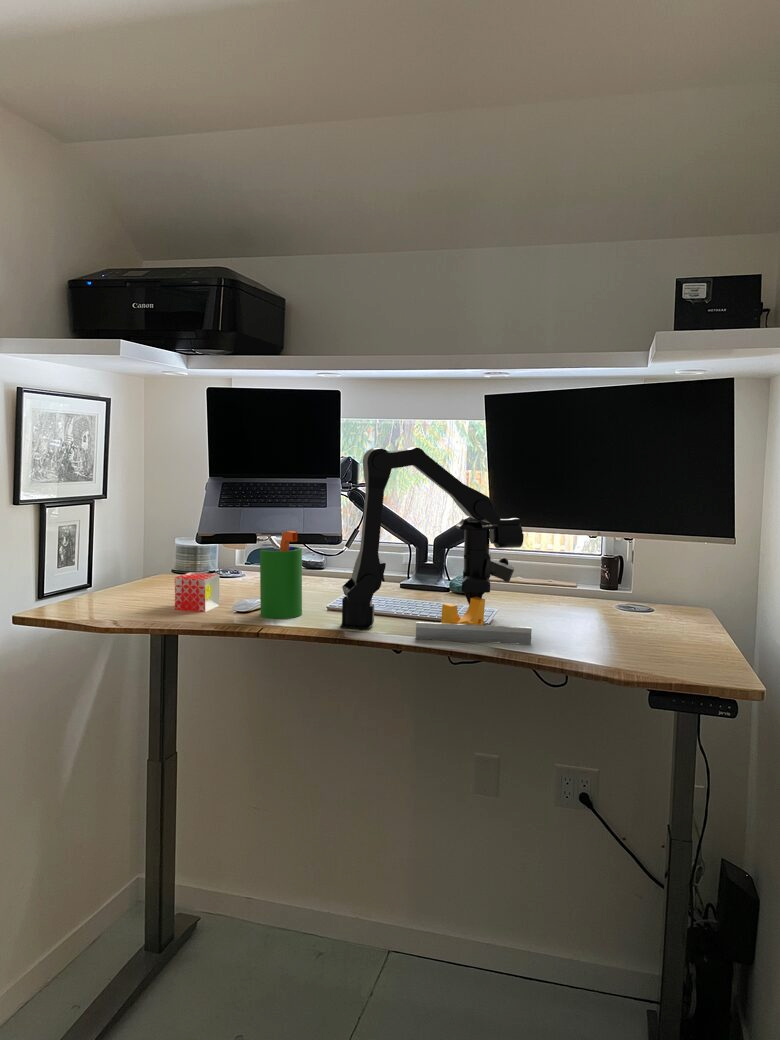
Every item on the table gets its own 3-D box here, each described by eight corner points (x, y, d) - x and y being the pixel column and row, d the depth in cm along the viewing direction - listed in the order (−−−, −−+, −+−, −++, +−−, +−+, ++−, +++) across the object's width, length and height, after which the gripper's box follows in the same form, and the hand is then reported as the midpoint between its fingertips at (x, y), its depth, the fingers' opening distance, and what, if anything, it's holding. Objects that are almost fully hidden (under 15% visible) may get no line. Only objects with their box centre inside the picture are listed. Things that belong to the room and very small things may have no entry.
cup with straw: (276, 608, 194) (277, 527, 192) (309, 612, 191) (310, 529, 189) (255, 616, 185) (255, 531, 183) (289, 620, 182) (290, 533, 180)
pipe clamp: (456, 637, 169) (458, 608, 168) (440, 633, 172) (442, 604, 171) (489, 629, 178) (491, 600, 177) (473, 624, 181) (475, 596, 180)
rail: (415, 638, 167) (416, 622, 167) (416, 636, 169) (416, 620, 169) (530, 644, 165) (531, 628, 164) (530, 642, 167) (531, 626, 166)
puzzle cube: (205, 612, 189) (205, 579, 188) (174, 610, 190) (174, 577, 190) (219, 605, 197) (219, 574, 196) (190, 603, 198) (190, 572, 197)
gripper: (514, 555, 171) (512, 626, 173) (510, 543, 190) (509, 607, 192) (462, 554, 173) (461, 624, 174) (463, 542, 191) (462, 606, 193)
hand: (475, 615), depth 183 cm, fingers closed
